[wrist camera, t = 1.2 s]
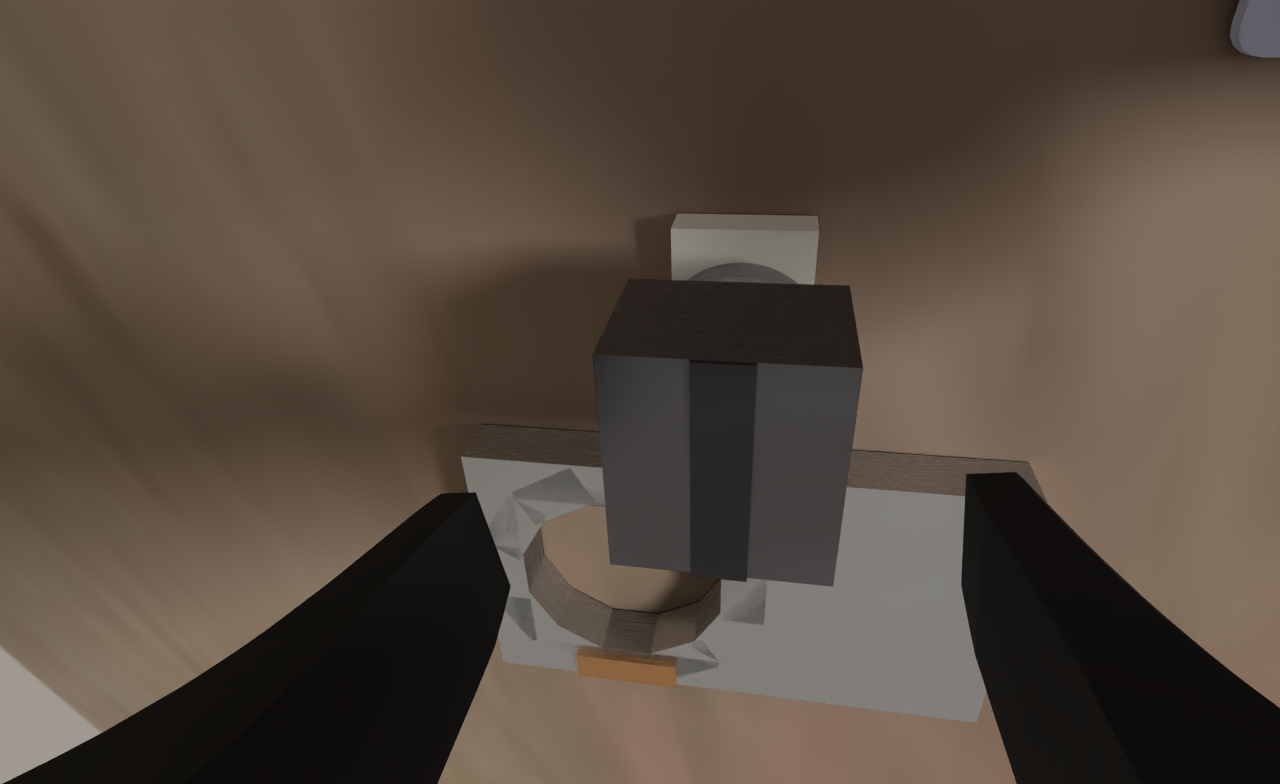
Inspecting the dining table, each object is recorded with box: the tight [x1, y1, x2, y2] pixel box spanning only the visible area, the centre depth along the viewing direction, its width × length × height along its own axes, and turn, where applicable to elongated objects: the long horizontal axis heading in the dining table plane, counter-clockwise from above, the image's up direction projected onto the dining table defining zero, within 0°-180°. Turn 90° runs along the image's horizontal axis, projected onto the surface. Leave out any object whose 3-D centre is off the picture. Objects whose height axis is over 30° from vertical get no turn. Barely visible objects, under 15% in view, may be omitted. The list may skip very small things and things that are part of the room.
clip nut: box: [593, 263, 863, 587], centre depth 14 cm, size 4×4×5 cm
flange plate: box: [461, 424, 1048, 723], centre depth 20 cm, size 14×8×2 cm, turn 92°
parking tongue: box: [671, 214, 819, 285], centre depth 17 cm, size 3×5×1 cm, turn 2°
